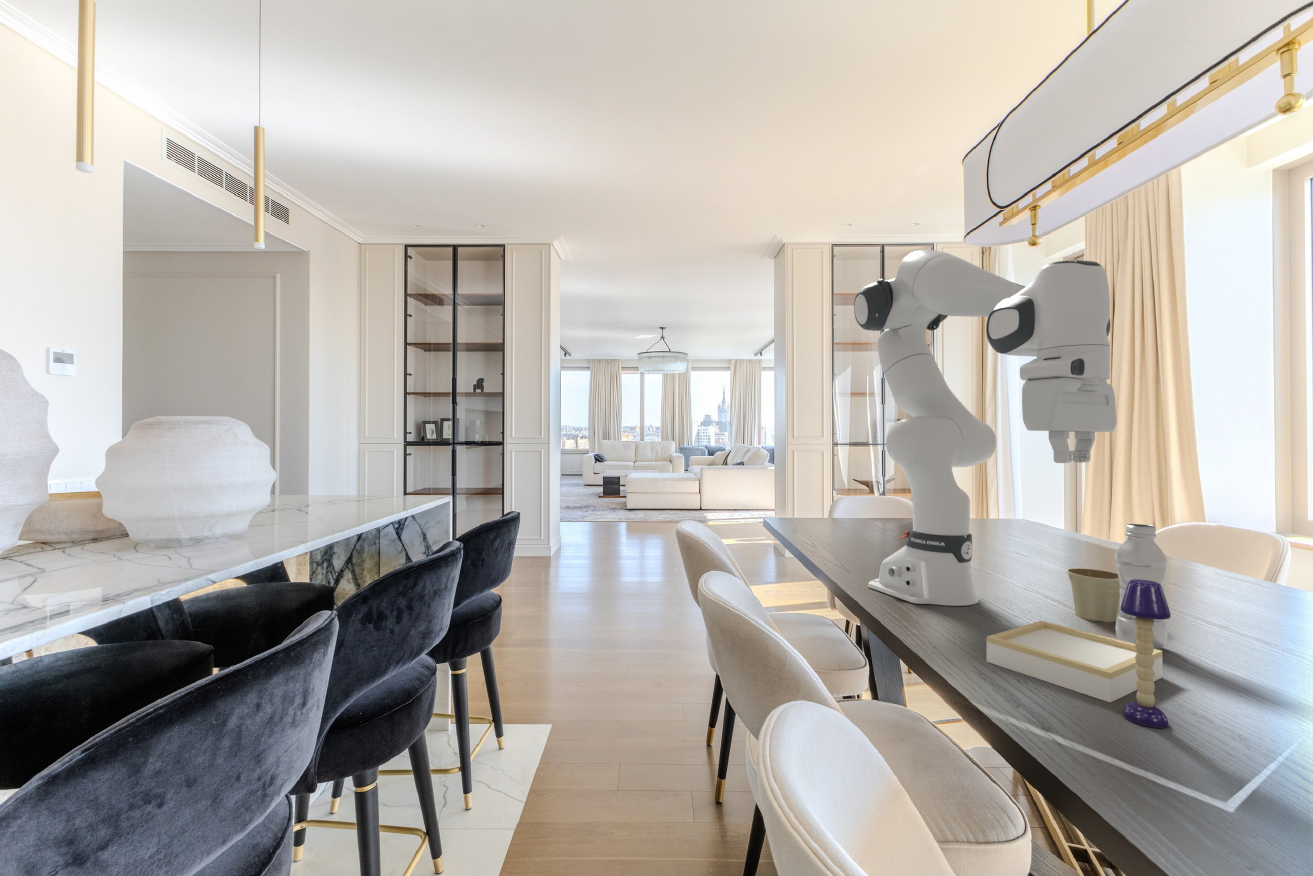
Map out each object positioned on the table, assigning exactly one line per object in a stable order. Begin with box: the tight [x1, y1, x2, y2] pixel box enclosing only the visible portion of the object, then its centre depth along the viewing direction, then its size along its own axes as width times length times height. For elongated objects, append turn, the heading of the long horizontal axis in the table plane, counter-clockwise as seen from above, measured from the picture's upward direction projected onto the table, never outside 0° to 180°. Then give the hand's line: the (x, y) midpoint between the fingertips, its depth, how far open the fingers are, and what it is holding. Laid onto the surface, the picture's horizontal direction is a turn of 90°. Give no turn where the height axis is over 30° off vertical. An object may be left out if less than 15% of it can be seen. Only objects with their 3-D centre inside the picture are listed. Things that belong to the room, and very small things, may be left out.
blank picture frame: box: [986, 620, 1163, 703], centre depth 86 cm, size 16×16×4 cm
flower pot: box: [1065, 567, 1120, 623], centre depth 111 cm, size 9×9×9 cm
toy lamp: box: [1121, 579, 1171, 729], centre depth 70 cm, size 5×5×17 cm
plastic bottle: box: [1114, 523, 1169, 650], centre depth 95 cm, size 6×7×20 cm
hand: (1072, 462), depth 86 cm, fingers open, 4 cm apart
